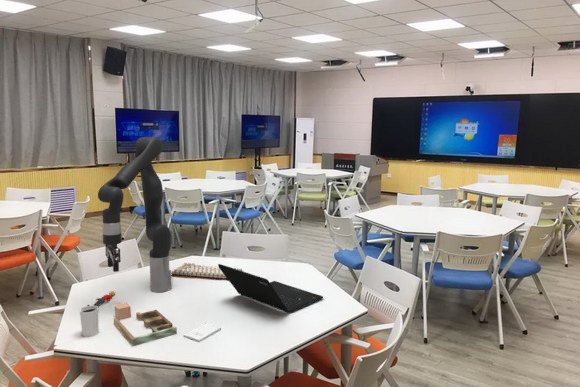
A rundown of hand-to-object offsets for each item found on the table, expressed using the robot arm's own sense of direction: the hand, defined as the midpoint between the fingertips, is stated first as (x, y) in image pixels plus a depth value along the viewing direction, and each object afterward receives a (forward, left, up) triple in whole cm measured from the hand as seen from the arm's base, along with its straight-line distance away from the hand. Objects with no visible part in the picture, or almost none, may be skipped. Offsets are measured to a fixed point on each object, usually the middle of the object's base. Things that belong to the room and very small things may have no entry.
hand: (113, 269), depth 191 cm
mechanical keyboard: (-55, -20, -19) cm, 62 cm away
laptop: (-61, +33, -19) cm, 72 cm away
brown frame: (-4, +27, -18) cm, 33 cm away
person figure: (+2, -12, -19) cm, 22 cm away
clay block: (0, +10, -19) cm, 21 cm away
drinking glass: (+15, +18, -19) cm, 30 cm away
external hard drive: (-20, +44, -19) cm, 52 cm away
